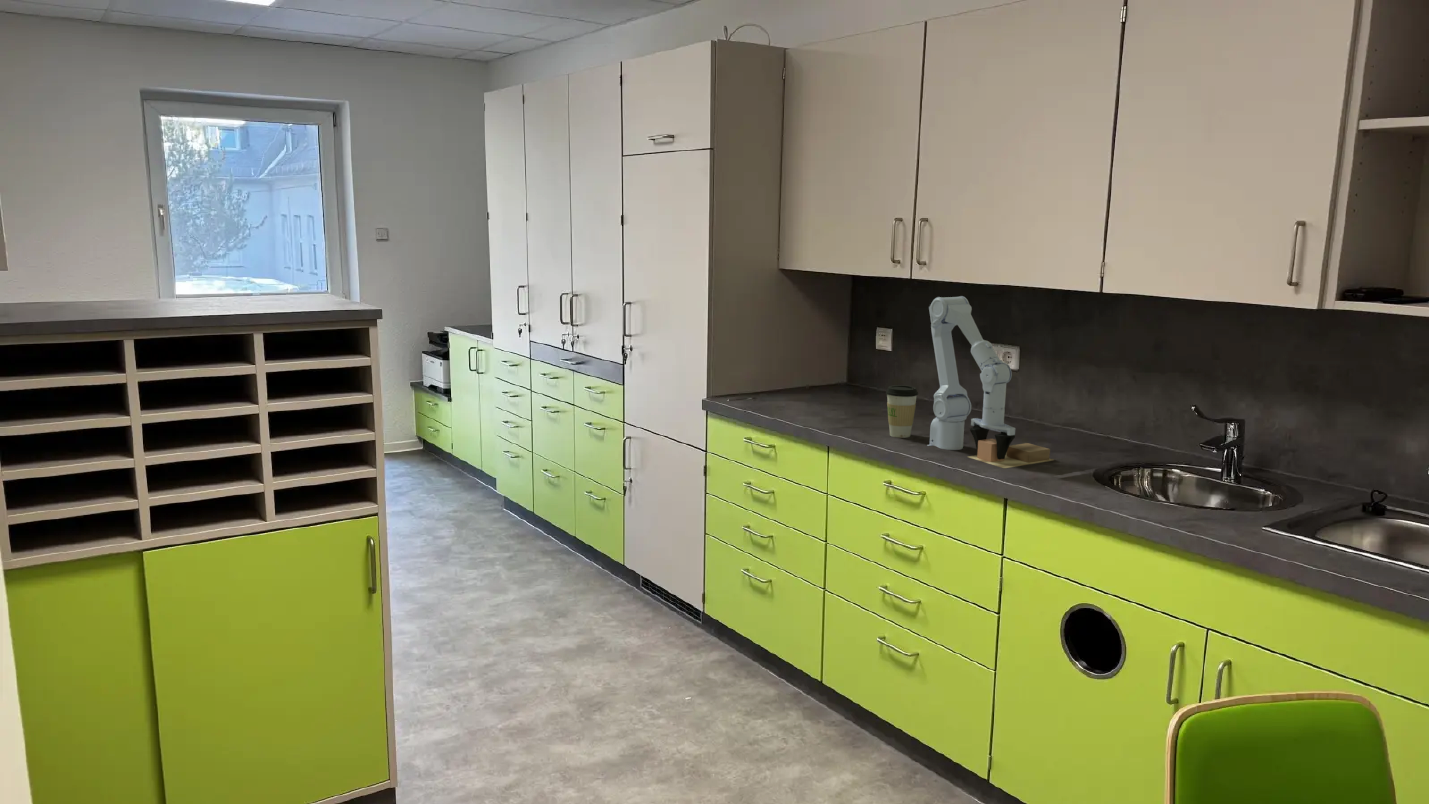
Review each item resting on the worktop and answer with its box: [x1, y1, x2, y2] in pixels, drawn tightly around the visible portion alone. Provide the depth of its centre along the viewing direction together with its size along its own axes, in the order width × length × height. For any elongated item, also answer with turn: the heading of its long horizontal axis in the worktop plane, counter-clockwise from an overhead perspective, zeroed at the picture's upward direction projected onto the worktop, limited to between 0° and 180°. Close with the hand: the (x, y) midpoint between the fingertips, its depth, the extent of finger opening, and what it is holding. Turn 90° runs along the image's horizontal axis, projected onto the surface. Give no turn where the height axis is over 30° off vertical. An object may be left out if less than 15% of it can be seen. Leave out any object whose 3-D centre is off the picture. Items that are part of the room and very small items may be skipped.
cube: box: [976, 438, 1004, 462], centre depth 261 cm, size 5×5×5 cm
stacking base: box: [967, 442, 1054, 469], centre depth 262 cm, size 14×19×4 cm
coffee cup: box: [885, 384, 919, 439], centre depth 292 cm, size 10×10×15 cm
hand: (990, 455), depth 261 cm, fingers open, 7 cm apart
